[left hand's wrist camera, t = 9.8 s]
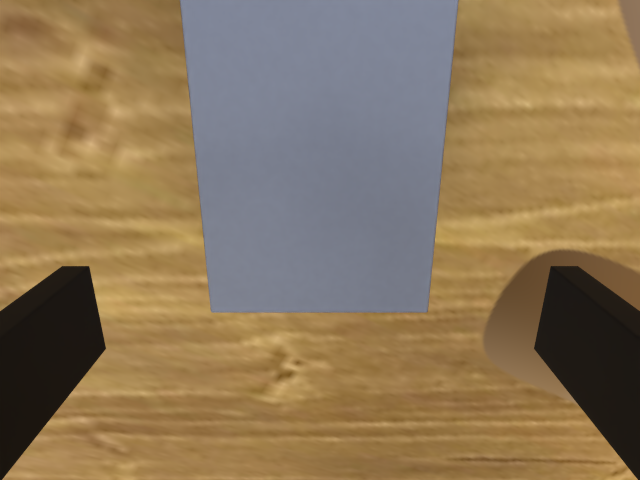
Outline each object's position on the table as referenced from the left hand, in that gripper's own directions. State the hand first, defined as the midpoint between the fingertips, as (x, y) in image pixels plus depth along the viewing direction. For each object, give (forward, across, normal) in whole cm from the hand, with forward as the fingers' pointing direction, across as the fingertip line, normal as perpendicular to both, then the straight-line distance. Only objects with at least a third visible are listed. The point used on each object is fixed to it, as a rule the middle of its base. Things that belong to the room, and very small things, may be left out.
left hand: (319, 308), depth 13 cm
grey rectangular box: (+17, 0, -6) cm, 19 cm away
